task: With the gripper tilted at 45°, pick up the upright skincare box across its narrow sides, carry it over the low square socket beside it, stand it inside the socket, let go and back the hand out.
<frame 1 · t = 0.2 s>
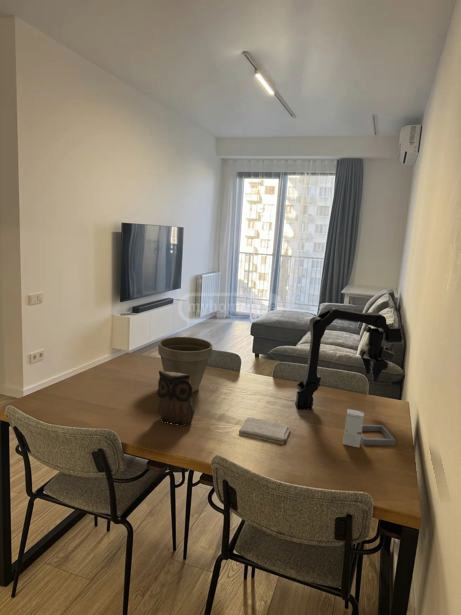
hand: (371, 377, 182), 15 cm above the table, tool pointing down, fingers open, 9 cm apart
socket: (373, 436, 160), on the table
plant pot: (183, 388, 198), on the table
owl: (178, 419, 166), on the table
skincare box: (351, 444, 154), on the table
washcloth: (264, 434, 159), on the table
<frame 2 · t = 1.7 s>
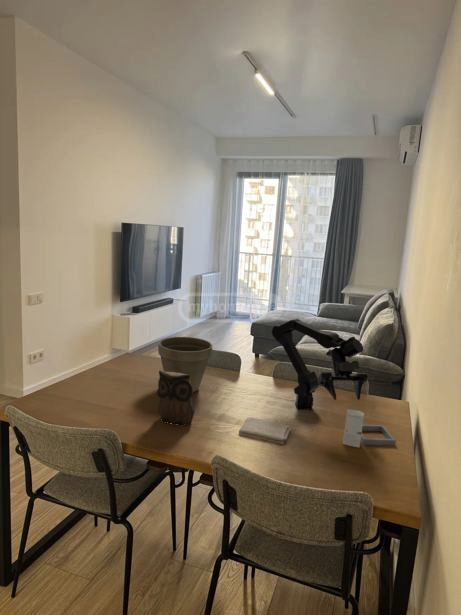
hand: (347, 399, 159), 13 cm above the table, tool tilted 45°, fingers open, 9 cm apart
nothing on the table moved.
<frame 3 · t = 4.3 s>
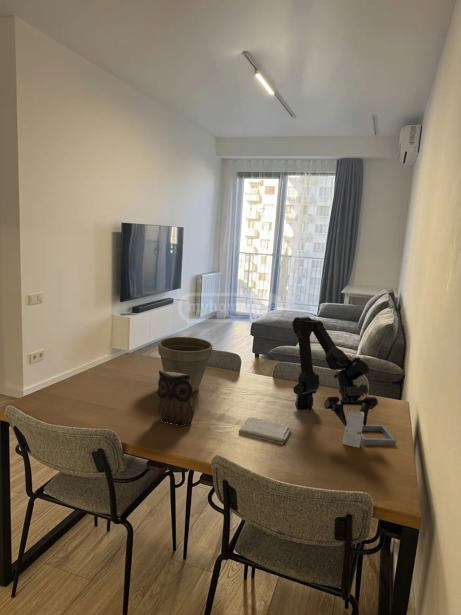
hand: (355, 425, 151), 8 cm above the table, tool tilted 45°, fingers closed on skincare box, 7 cm apart
skincare box: (351, 444, 154), on the table, touching gripper
everything else where it was.
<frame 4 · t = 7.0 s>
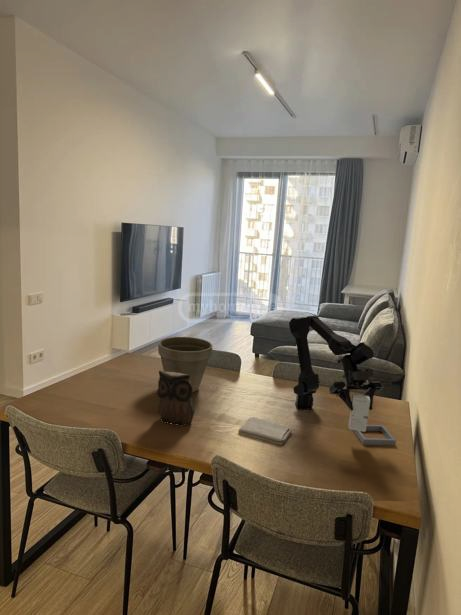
hand: (361, 410, 151), 13 cm above the table, tool tilted 45°, fingers closed on skincare box, 7 cm apart
skincare box: (357, 428, 154), point 5 cm above the table, touching gripper
everything else where it was.
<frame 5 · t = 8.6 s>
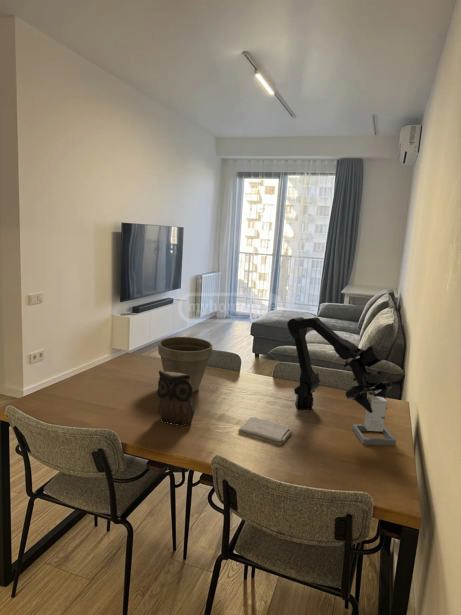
hand: (378, 411, 156), 11 cm above the table, tool tilted 45°, fingers closed on skincare box, 7 cm apart
skincare box: (373, 429, 159), point 3 cm above the table, touching gripper
everything else where it was.
when the fingers open (9 cm above the table, at t = 9.6 s): skincare box drops 1 cm, resting in socket.
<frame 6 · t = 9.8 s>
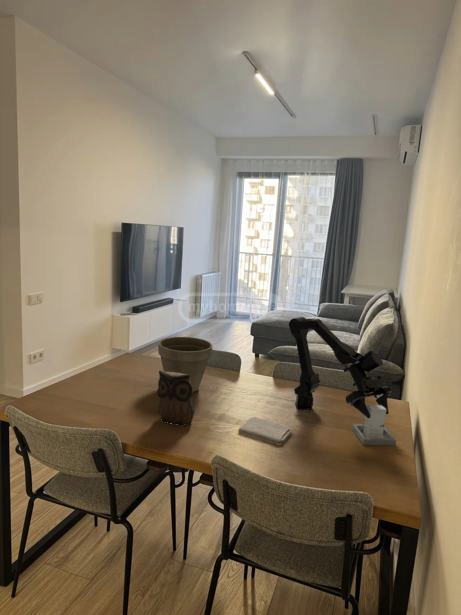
hand: (378, 416, 157), 9 cm above the table, tool tilted 45°, fingers open, 9 cm apart
skincare box: (372, 437, 160), resting in socket
everything else where it was.
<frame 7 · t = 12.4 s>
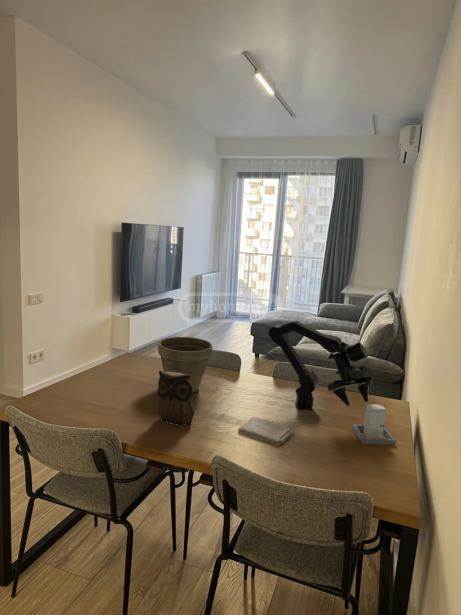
hand: (357, 403, 166), 9 cm above the table, tool tilted 35°, fingers open, 9 cm apart
nothing on the table moved.
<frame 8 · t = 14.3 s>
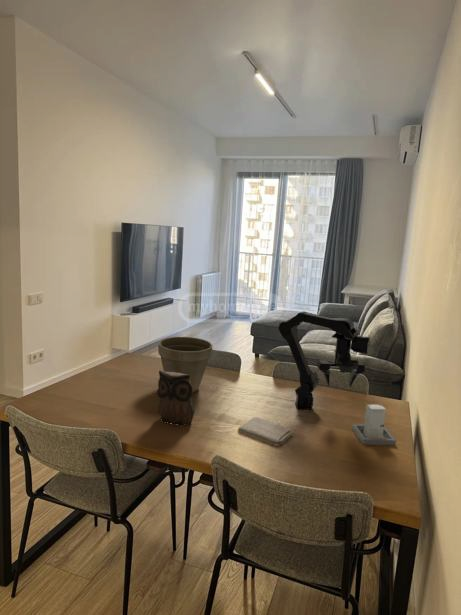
hand: (339, 386, 174), 13 cm above the table, tool pointing down, fingers open, 9 cm apart
at the end: skincare box 0.2 cm off-centre on the socket, point 0.0 cm above the socket's base; skincare box tilted 0°; the gripper is holding nothing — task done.
